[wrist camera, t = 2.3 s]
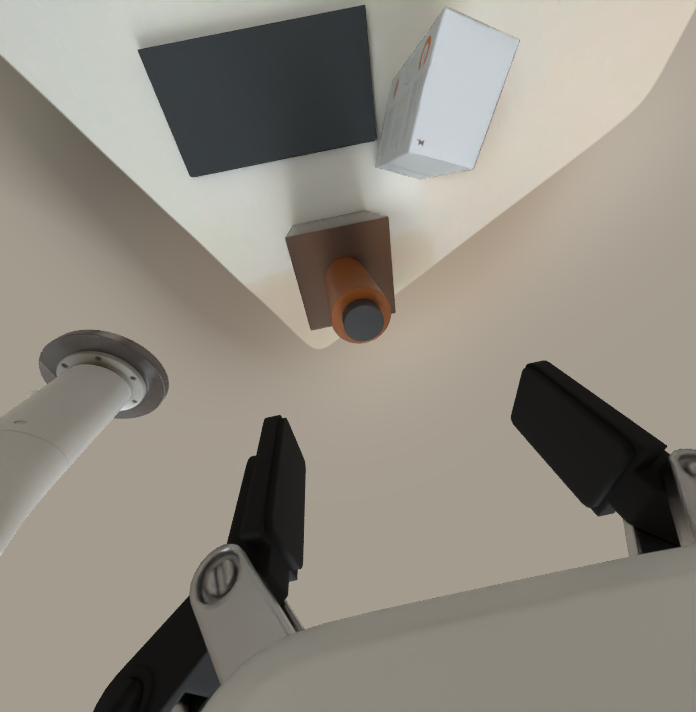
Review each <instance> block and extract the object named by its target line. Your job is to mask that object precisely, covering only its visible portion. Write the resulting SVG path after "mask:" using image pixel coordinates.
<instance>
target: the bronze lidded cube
mask: <svg viewBox="0 0 696 712" xmlns="http://www.w3.org/2000/svg"><path fill="white" fill-rule="evenodd" d="M285 239H286V243H287V247H288V250H289V254H290V257H291V261H292V264H293V268H294V272H295V275H296V279H297V282H298V286H299V289H300V293H301V297H302V300H303V304H304V307H305V311H306V314H307V318H308V322H309V325H310V329H311V330H316V329H321V328H325V327H330V326H332V323H331V317H330V310H329V304H328V297H327V291H326V284H325V274H326V271H327V269H328V267H329V266H330V265H331V264H332V263H333V262H334V261H335V260H337V259H340V258H344V257H349V258H353V259H356V260H357V261H359V262H360V263H361V264H362V265H363V267H364V268H365V269H366V271H367V272H368V273H369V275H370V276H371V278H372V279H373V280H374V282H375V283H376V284H377V286H378V287H379V289H380V290H381V291H382V293H383V294H384V295H385V297H386V298H387V300H388V302H389V304H390V308H391V314H392V313H395V299H394V286H393V273H392V259H391V246H390V233H389V219H388V217H387V216H384V215H380V214H377V213H373V212H369V211H361V212H356V213H351V214H346V215H341V216H336V217H331V218H327V219H322V220H317V221H312V222H307V223H302V224H297V225H293V226H292V228H291V230H290V231H289V233H288V234H287V236H286V238H285Z"/></svg>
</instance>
